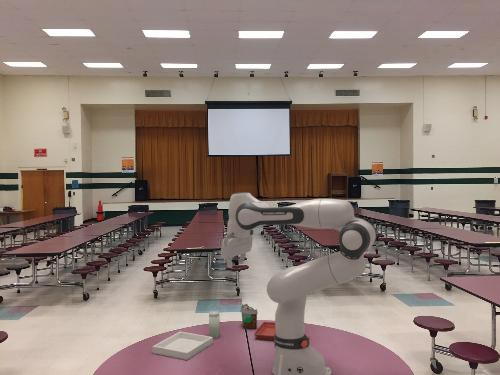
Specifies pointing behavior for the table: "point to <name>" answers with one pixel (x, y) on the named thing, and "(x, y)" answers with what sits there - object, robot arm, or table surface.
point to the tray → (182, 345)
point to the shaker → (214, 324)
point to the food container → (249, 317)
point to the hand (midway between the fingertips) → (235, 265)
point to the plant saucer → (266, 331)
